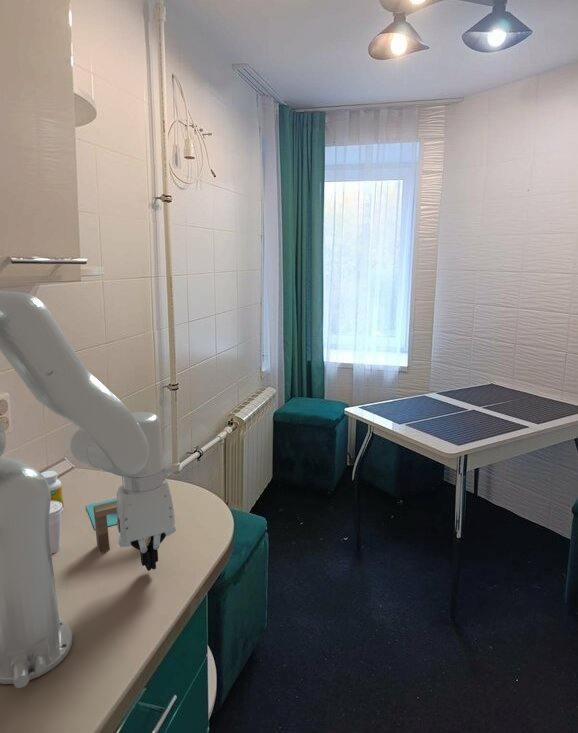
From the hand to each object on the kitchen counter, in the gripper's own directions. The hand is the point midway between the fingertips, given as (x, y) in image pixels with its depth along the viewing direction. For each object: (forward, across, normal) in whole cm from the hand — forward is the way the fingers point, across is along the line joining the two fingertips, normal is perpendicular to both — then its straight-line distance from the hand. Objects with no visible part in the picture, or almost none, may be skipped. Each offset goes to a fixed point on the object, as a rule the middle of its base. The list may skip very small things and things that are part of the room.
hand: (150, 566), depth 101 cm
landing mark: (+2, 0, -29) cm, 29 cm away
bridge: (+2, 0, -14) cm, 14 cm away
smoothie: (+2, +16, -19) cm, 25 cm away
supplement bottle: (+2, +14, -37) cm, 40 cm away
